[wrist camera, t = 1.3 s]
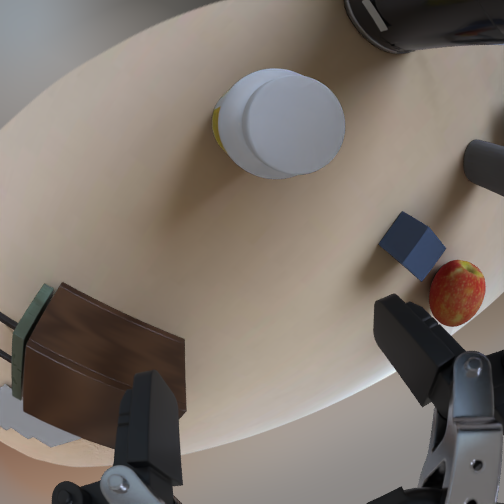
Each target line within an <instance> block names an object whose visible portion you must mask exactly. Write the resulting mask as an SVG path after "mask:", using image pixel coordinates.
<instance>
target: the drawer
mask: <svg viewBox="0 0 504 504" xmlns="http://www.w3.org/2000/svg"><path fill="white" fill-rule="evenodd" d="M53 290H54V288H52V287H50V286H48V285H47V284H44V285H43V286H42V288H41V289H40V291H39V292H38V294H37V295H36V297H35V298H34V300H33V301H32V303H31V304H30V306H29V307H28V309H27V310H26V312H25V313H24V315H23V317H22V318H21V320H20V322H19V323H17V322H15V321H14V320H12V319H10V318H9V317H7V316H6V315H4V314H3V313H1V312H0V321H1V322H2V323H4V324H5V325H7V326H9V327H10V328H12V329H13V330H14V332H13V338H12V356H10V355H9V354H7V353H6V352H4V351H2V350H1V349H0V357H2V358H3V359H5V360H7V361H8V362H10V363H12V396H13V397H15V398H17V399H19V400H20V401H21V400H22V397H23V378H24V361H25V350H26V344H27V342H28V340H29V338H30V336H31V334H32V333H33V331H34V329H35V327H36V325H37V323H38V322H39V320H40V318H41V316H42V315H43V313H44V311H45V309H46V308H47V306H48V304H49V303H50V301H51V298H52V294H53Z"/></svg>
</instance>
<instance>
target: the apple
mask: <svg viewBox="0 0 504 504" xmlns="http://www.w3.org/2000/svg"><path fill="white" fill-rule="evenodd" d="M484 295H485V279H484V276H483V274H482V272H481V271H480V270H479V268H478V267H476V266H475V265H473V264H472V263H470V262H467V261H461V260H453V261H450V262H448V263H446V264H445V265H443V266H442V267H441V268H440V269H439V271H438V272H437V274H436V275H435V277H434V279H433V281H432V284H431V288H430V293H429V304H430V309H431V312H432V314H433V316H434V317H435V318H436V319H437V320H438V321H439V322H440V323H441V324H443V325H446V326H451V327H454V326H459V325H461V324H464V323H465V322H467V321H468V320H470V319H471V318H472V317H473V316H474V315H475V314H476V312H477V311H478V309H479V308H480V306H481V304H482V301H483V299H484Z"/></svg>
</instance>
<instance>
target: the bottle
mask: <svg viewBox="0 0 504 504" xmlns="http://www.w3.org/2000/svg"><path fill="white" fill-rule="evenodd" d="M464 171H465V174H466V177H467V178H468V180H469V181H471V182H473V183H475V184H477V185H479V186H481V187H484V188H486V189H488V190H491V191H493V192H495V193H497V194H499V195H502V196H504V146H500V145H497V144H493V143H490V142H486V141H482V140H473V141H471V142H470V144H469V145H468V147H467V149H466V151H465V156H464Z"/></svg>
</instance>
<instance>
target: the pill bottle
mask: <svg viewBox="0 0 504 504" xmlns="http://www.w3.org/2000/svg"><path fill="white" fill-rule="evenodd" d="M212 131H213V134H214V137H215V139H216V141H217V143H218V144H219V146H220V147H221V148H222V149H223V150H224V151H225V152H226V153H227V155H228V156H229V157H230V158H231V159H232V160H233V161H234V162H235V163H236V164H237V165H238V166H240V167H241V168H242V169H244V170H245V171H247V172H249V173H251V174H253V175H256V176H258V177H262V178H267V179H286V178H291V177H294V176H297V175H304V174H309V173H312V172H315V171H317V170H319V169H321V168H323V167H324V166H326V165H327V164H328V163H329V162H330V161H331V160H332V159H333V158H334V157H335V156H336V154H337V153H338V151H339V149H340V147H341V145H342V143H343V139H344V134H345V117H344V113H343V110H342V107H341V105H340V103H339V101H338V99H337V97H336V96H335V95H334V94H333V92H332V91H331V90H330V89H329V88H327V87H326V86H325V85H324V84H322V83H321V82H319V81H317V80H315V79H313V78H310V77H307V76H303V75H301V74H299V73H296V72H294V71H291V70H286V69H279V68H271V69H263V70H259V71H256V72H253V73H251V74H249V75H247V76H245V77H243V78H242V79H241V80H239V81H238V82H237V83H236V84H235V85H233V86H232V87H231V88H230V89H229V90H228V91H227V92H226V93H225V94H224V95H223V96H222V97H221V98H220V99H219V101H218V102H217V104H216V106H215V108H214V111H213V115H212Z"/></svg>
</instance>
